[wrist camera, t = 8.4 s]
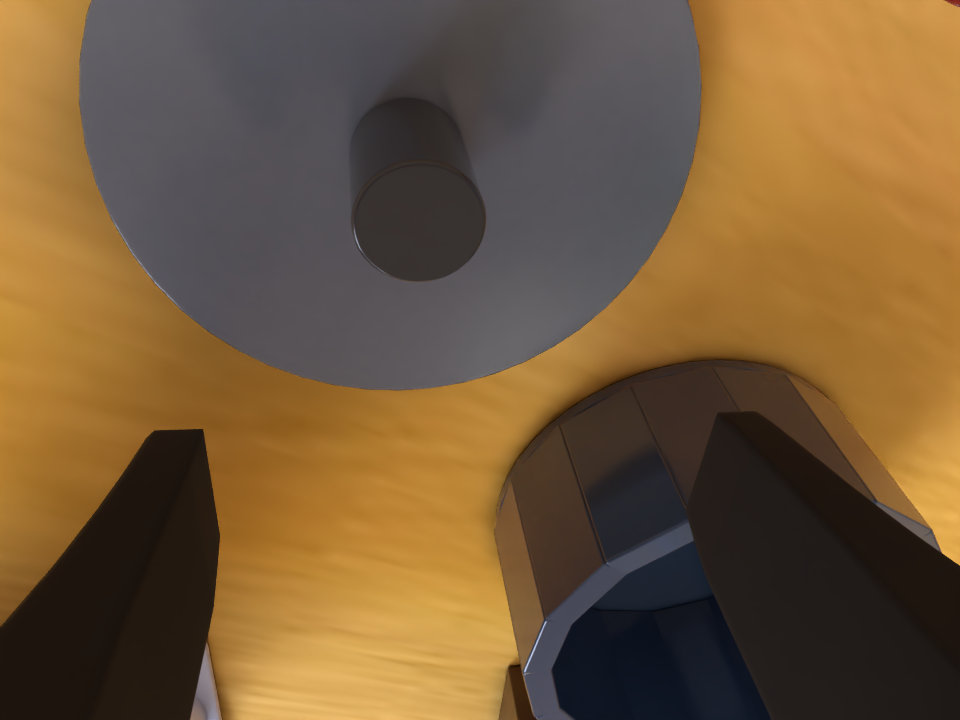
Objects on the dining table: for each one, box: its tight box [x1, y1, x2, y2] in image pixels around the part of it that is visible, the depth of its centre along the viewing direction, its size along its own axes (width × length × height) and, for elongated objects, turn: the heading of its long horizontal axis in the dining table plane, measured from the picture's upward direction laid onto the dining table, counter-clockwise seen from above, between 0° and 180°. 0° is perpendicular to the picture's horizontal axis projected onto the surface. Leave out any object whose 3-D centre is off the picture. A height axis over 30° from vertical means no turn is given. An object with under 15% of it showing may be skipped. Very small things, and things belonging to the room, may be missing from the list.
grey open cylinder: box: [494, 360, 942, 720], centre depth 24 cm, size 12×12×5 cm
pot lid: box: [79, 0, 702, 390], centre depth 16 cm, size 13×13×4 cm
